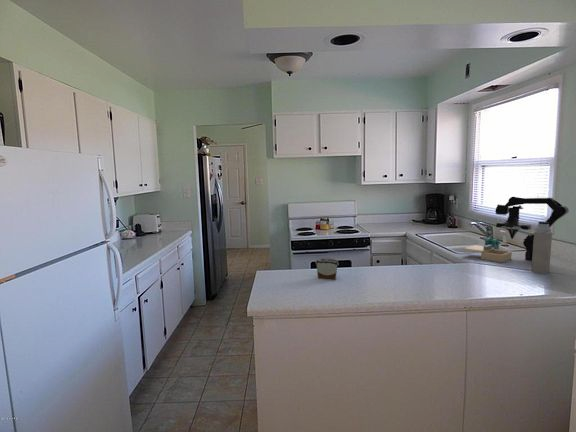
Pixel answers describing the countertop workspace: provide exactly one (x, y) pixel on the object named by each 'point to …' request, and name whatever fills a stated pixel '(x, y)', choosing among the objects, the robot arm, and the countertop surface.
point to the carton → (496, 255)
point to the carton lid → (480, 248)
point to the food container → (326, 268)
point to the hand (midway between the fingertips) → (512, 238)
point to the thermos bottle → (542, 248)
